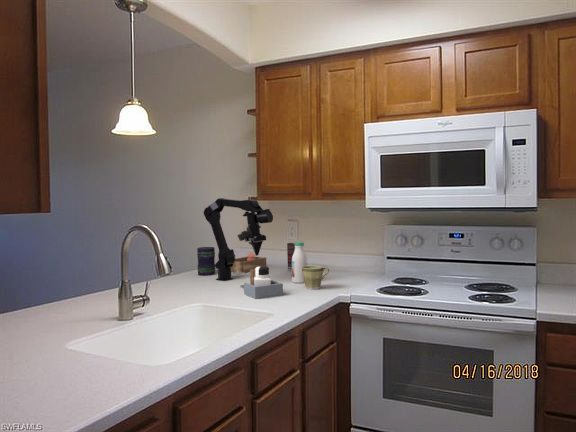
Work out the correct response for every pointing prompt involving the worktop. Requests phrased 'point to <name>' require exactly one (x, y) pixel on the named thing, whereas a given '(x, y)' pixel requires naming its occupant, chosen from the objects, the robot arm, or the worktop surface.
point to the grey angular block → (263, 290)
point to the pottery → (251, 256)
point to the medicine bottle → (262, 276)
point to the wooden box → (247, 264)
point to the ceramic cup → (313, 276)
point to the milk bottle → (298, 263)
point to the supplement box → (290, 254)
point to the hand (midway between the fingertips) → (257, 255)
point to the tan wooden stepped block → (252, 276)
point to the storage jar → (206, 261)
